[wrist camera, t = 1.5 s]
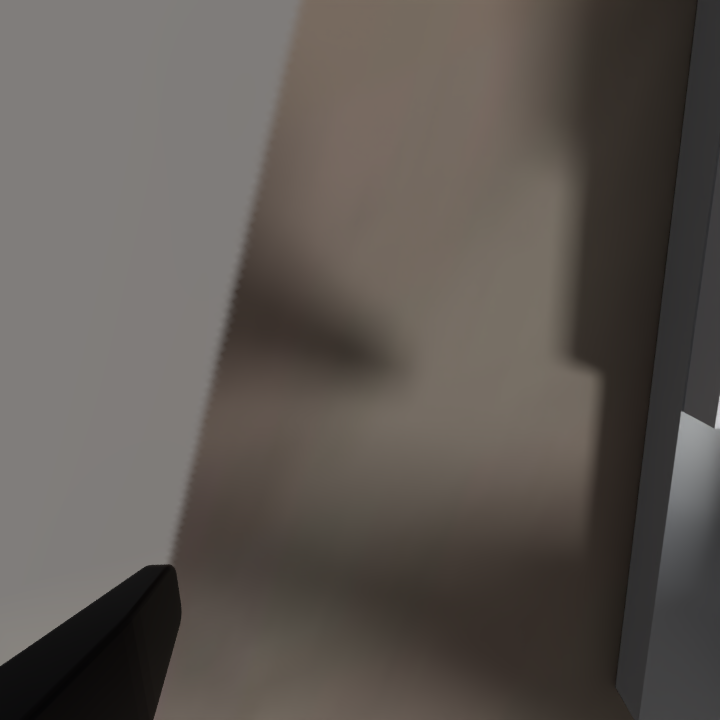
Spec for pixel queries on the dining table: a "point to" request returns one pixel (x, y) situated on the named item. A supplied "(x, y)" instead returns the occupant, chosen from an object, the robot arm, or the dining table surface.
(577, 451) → the dining table surface
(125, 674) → the robot arm
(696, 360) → the socket base
